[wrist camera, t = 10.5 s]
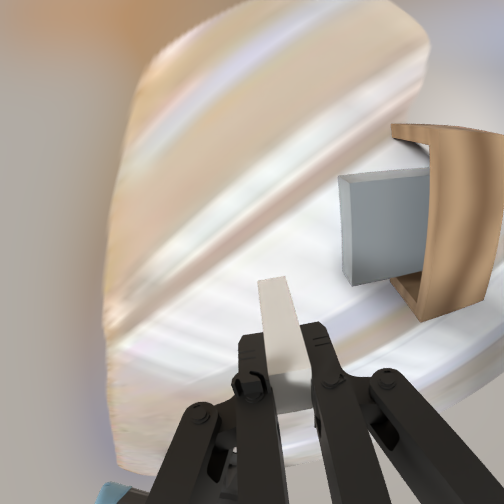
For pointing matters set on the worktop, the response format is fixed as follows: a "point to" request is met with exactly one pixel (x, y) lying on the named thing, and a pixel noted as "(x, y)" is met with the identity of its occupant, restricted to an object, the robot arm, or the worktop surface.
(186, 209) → the worktop surface
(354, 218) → the tile
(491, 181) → the tan wooden channel
